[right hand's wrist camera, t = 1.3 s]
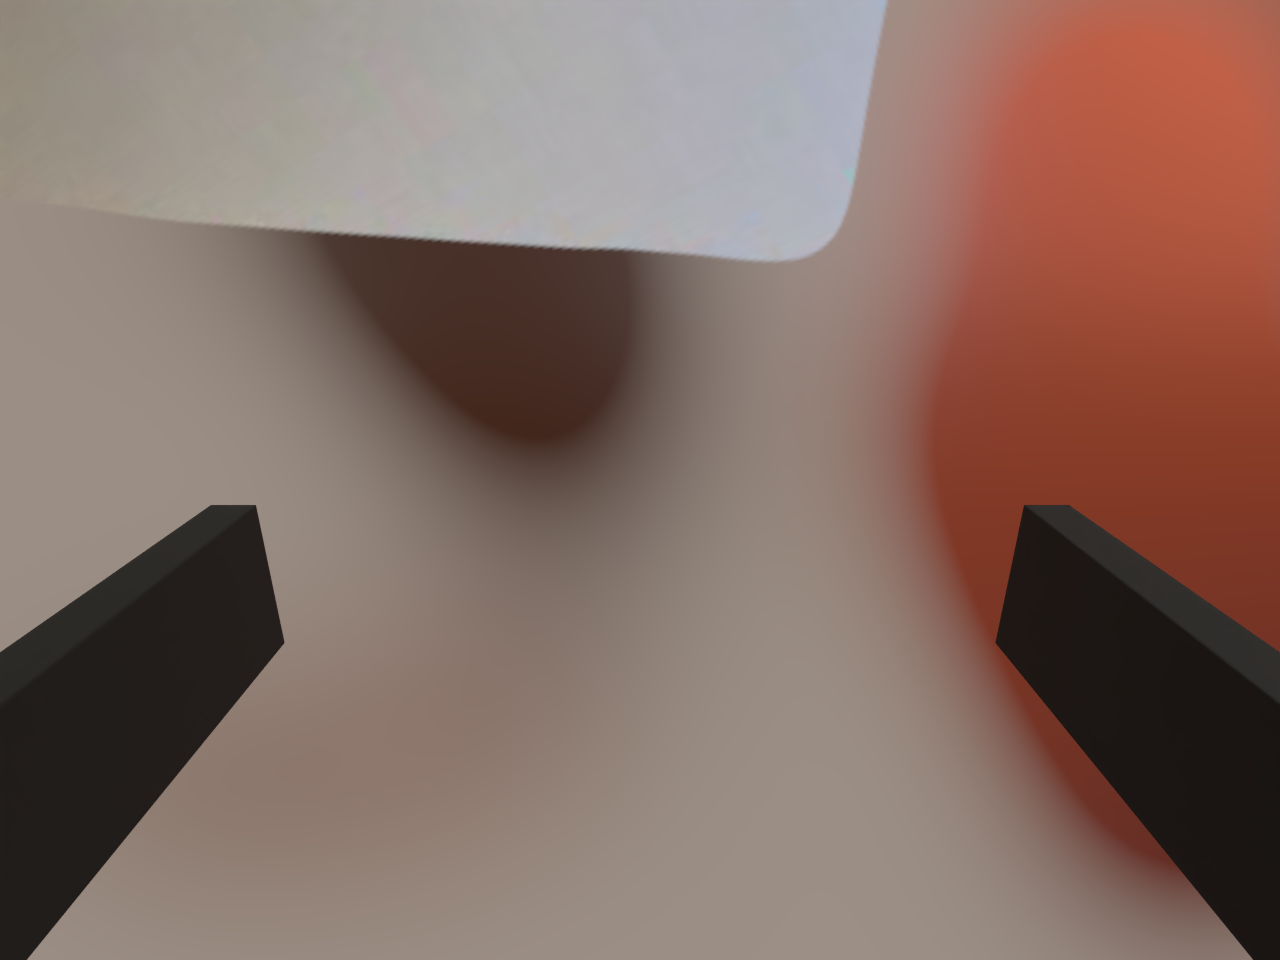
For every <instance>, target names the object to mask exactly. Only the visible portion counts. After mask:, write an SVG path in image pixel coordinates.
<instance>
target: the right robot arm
mask: <svg viewBox="0 0 1280 960" xmlns="http://www.w3.org/2000/svg"><path fill="white" fill-rule="evenodd" d="M283 644H284V638H283V633H282V629H281V624H280V619H279V614H278V609H277V605H276V600H275V595H274V590H273V585H272V581H271V576H270V571H269V566H268V561H267V557H266V552H265V547H264V542H263V537H262V533H261V528H260V523H259V518H258V513H257V509H256V505H211V506H209V507H208V508H206V509H205V510H203V511H202V512H201V513H199V514H198V515H196V516H195V517H193V518H192V519H190V520H189V521H188V522H186V523H185V524H183V525H182V526H180V527H179V528H178V529H176V530H175V531H173V532H172V533H170V534H169V535H168V536H166V537H165V538H163V539H162V540H160V541H159V542H158V543H156V544H155V545H153V546H152V547H150V548H149V549H148V550H146V551H145V552H143V553H142V554H140V555H139V556H137V557H136V558H135V559H133V560H132V561H130V562H129V563H127V564H126V565H125V566H123V567H122V568H120V569H119V570H117V571H116V572H115V573H113V574H112V575H110V576H109V577H107V578H106V579H105V580H103V581H102V582H100V583H99V584H97V585H96V586H95V587H93V588H92V589H90V590H89V591H87V592H86V593H85V594H83V595H82V596H80V597H79V598H77V599H76V600H74V601H73V602H72V603H70V604H69V605H67V606H66V607H65V608H63V609H62V610H60V611H59V612H57V613H56V614H54V615H53V616H52V617H50V618H49V619H47V620H46V621H44V622H43V623H42V624H40V625H39V626H37V627H36V628H34V629H33V630H32V631H30V632H29V633H27V634H26V635H24V636H23V637H21V638H20V639H19V640H17V641H16V642H14V643H13V644H11V645H10V646H9V647H7V648H6V649H4V650H3V651H2V652H0V960H27V959H28V957H29V956H30V955H31V954H32V953H33V951H34V950H35V949H36V948H37V946H38V945H39V944H40V943H41V942H42V940H43V939H44V938H45V937H46V935H47V934H48V933H49V932H50V930H51V929H52V928H53V927H54V926H55V924H56V923H57V922H58V921H59V919H60V918H61V917H62V916H63V914H64V913H65V912H66V911H67V909H68V908H69V907H70V906H71V905H72V903H73V902H74V901H75V900H76V898H77V897H78V896H79V895H80V894H81V892H82V891H83V890H84V889H85V887H86V886H87V885H88V884H89V883H90V881H91V880H92V879H93V878H94V876H95V875H96V874H97V873H98V871H99V870H100V869H101V868H102V867H103V865H104V864H105V863H106V862H107V860H108V859H109V858H110V857H111V855H112V854H113V853H114V852H115V851H116V849H117V848H118V847H119V846H120V844H121V843H122V842H123V841H124V839H125V838H126V837H127V836H128V835H129V833H130V832H131V831H132V830H133V828H134V827H135V826H136V825H137V823H138V822H139V821H140V820H141V819H142V817H143V816H144V815H145V814H146V812H147V811H148V810H149V809H150V808H151V806H152V805H153V804H154V802H155V801H156V800H157V799H158V798H159V796H160V795H161V794H162V793H163V792H164V790H165V789H166V788H167V787H168V785H169V784H170V783H171V782H172V780H173V779H174V778H175V777H176V776H177V774H178V773H179V772H180V771H181V769H182V768H183V767H184V766H185V764H186V763H187V762H188V761H189V759H190V758H191V757H192V756H193V755H194V753H195V752H196V751H197V750H198V748H199V747H200V746H201V745H202V744H203V742H204V741H205V740H206V739H207V737H208V736H209V735H210V734H211V732H212V731H213V730H214V729H215V728H216V726H217V725H218V724H219V723H220V721H221V720H222V719H223V718H224V716H225V715H226V714H227V713H228V712H229V710H230V709H231V708H232V707H233V705H234V704H235V703H236V702H237V701H238V699H239V698H240V697H241V696H242V694H243V693H244V692H245V691H246V689H247V688H248V687H249V686H250V685H251V683H252V682H253V681H254V680H255V678H256V677H257V676H258V675H259V673H260V672H261V671H262V670H263V669H264V667H265V666H266V665H267V664H268V662H269V661H270V660H271V659H272V657H273V656H274V655H275V654H276V653H277V651H278V650H279V649H280V648H281V646H282V645H283ZM996 644H997V645H998V646H999V648H1000V649H1001V650H1002V651H1003V653H1004V654H1005V655H1006V656H1007V657H1008V659H1009V660H1010V661H1011V662H1012V664H1013V665H1014V666H1015V667H1016V669H1017V670H1018V671H1019V672H1020V673H1021V675H1022V676H1023V677H1024V678H1025V680H1026V681H1027V682H1028V683H1029V685H1030V686H1031V687H1032V688H1033V689H1034V691H1035V692H1036V693H1037V694H1038V696H1039V697H1040V698H1041V699H1042V701H1043V702H1044V703H1045V704H1046V705H1047V707H1048V708H1049V709H1050V710H1051V712H1052V713H1053V714H1054V715H1055V716H1056V718H1057V719H1058V720H1059V721H1060V723H1061V724H1062V725H1063V726H1064V728H1065V729H1066V730H1067V731H1068V732H1069V734H1070V735H1071V736H1072V737H1073V739H1074V740H1075V741H1076V742H1077V744H1078V745H1079V746H1080V747H1081V748H1082V750H1083V751H1084V752H1085V753H1086V755H1087V756H1088V757H1089V758H1090V760H1091V761H1092V762H1093V763H1094V764H1095V766H1096V767H1097V768H1098V769H1099V771H1100V772H1101V773H1102V774H1103V775H1104V777H1105V778H1106V779H1107V780H1108V782H1109V783H1110V784H1111V785H1112V787H1113V788H1114V789H1115V790H1116V791H1117V793H1118V794H1119V795H1120V796H1121V798H1122V799H1123V800H1124V801H1125V803H1126V804H1127V805H1128V806H1129V808H1130V809H1131V810H1132V811H1133V812H1134V814H1135V815H1136V816H1137V817H1138V818H1139V820H1140V821H1141V822H1142V823H1143V825H1144V826H1145V827H1146V828H1147V829H1148V831H1149V832H1150V833H1151V835H1152V836H1153V837H1154V838H1155V839H1156V841H1157V842H1158V843H1159V844H1160V846H1161V847H1162V848H1163V849H1164V851H1165V852H1166V853H1167V854H1168V855H1169V857H1170V858H1171V859H1172V860H1173V862H1174V863H1175V864H1176V865H1177V866H1178V868H1179V869H1180V870H1181V871H1182V873H1183V874H1184V875H1185V876H1186V878H1187V879H1188V880H1189V881H1190V883H1191V884H1192V885H1193V886H1194V887H1195V889H1196V890H1197V891H1198V892H1199V894H1200V895H1201V896H1202V897H1203V899H1204V900H1205V901H1206V902H1207V903H1208V905H1209V906H1210V907H1211V908H1212V910H1213V911H1214V912H1215V913H1216V914H1217V916H1218V917H1219V918H1220V919H1221V921H1222V922H1223V923H1224V924H1225V926H1226V927H1227V928H1228V929H1229V930H1230V932H1231V933H1232V934H1233V935H1234V937H1235V938H1236V939H1237V940H1238V941H1239V943H1240V944H1241V945H1242V946H1243V948H1244V949H1245V950H1246V951H1247V953H1248V954H1249V955H1250V956H1251V958H1252V959H1253V960H1280V652H1279V651H1277V650H1276V649H1274V648H1273V647H1271V646H1270V645H1269V644H1267V643H1266V642H1264V641H1263V640H1261V639H1260V638H1259V637H1257V636H1256V635H1254V634H1253V633H1251V632H1250V631H1248V630H1247V629H1246V628H1244V627H1243V626H1241V625H1240V624H1238V623H1237V622H1236V621H1234V620H1233V619H1231V618H1230V617H1228V616H1227V615H1226V614H1224V613H1223V612H1221V611H1220V610H1218V609H1217V608H1216V607H1214V606H1213V605H1211V604H1210V603H1208V602H1207V601H1206V600H1204V599H1203V598H1201V597H1200V596H1198V595H1197V594H1195V593H1194V592H1193V591H1191V590H1190V589H1188V588H1187V587H1185V586H1184V585H1183V584H1181V583H1180V582H1178V581H1177V580H1175V579H1174V578H1172V577H1171V576H1170V575H1168V574H1167V573H1165V572H1164V571H1163V570H1161V569H1160V568H1158V567H1157V566H1155V565H1154V564H1153V563H1151V562H1150V561H1148V560H1147V559H1145V558H1144V557H1142V556H1141V555H1140V554H1138V553H1137V552H1135V551H1134V550H1132V549H1131V548H1130V547H1128V546H1127V545H1125V544H1124V543H1122V542H1121V541H1120V540H1118V539H1117V538H1115V537H1114V536H1112V535H1111V534H1110V533H1108V532H1107V531H1105V530H1104V529H1102V528H1101V527H1100V526H1098V525H1097V524H1095V523H1094V522H1092V521H1091V520H1089V519H1088V518H1087V517H1085V516H1084V515H1082V514H1081V513H1079V512H1078V511H1077V510H1075V509H1074V508H1072V507H1071V506H1069V505H1024V508H1023V513H1022V518H1021V523H1020V528H1019V532H1018V537H1017V542H1016V547H1015V552H1014V556H1013V562H1012V566H1011V571H1010V576H1009V580H1008V585H1007V590H1006V595H1005V600H1004V605H1003V610H1002V614H1001V619H1000V624H999V629H998V633H997V638H996Z"/></svg>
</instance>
